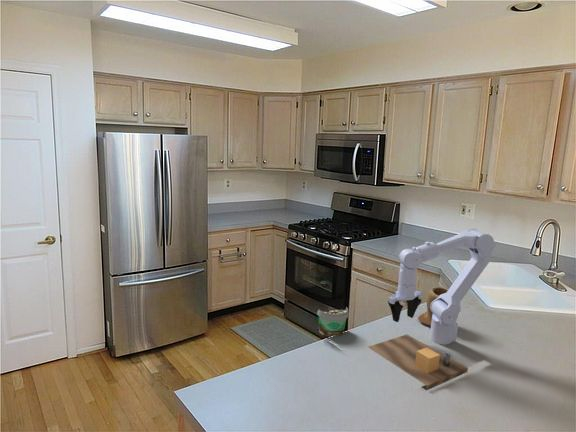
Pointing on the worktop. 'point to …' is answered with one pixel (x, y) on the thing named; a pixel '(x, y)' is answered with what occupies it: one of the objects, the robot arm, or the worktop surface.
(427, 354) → the peach wooden cube
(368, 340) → the worktop surface
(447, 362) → the dark post
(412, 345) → the walnut board
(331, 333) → the food container
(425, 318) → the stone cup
